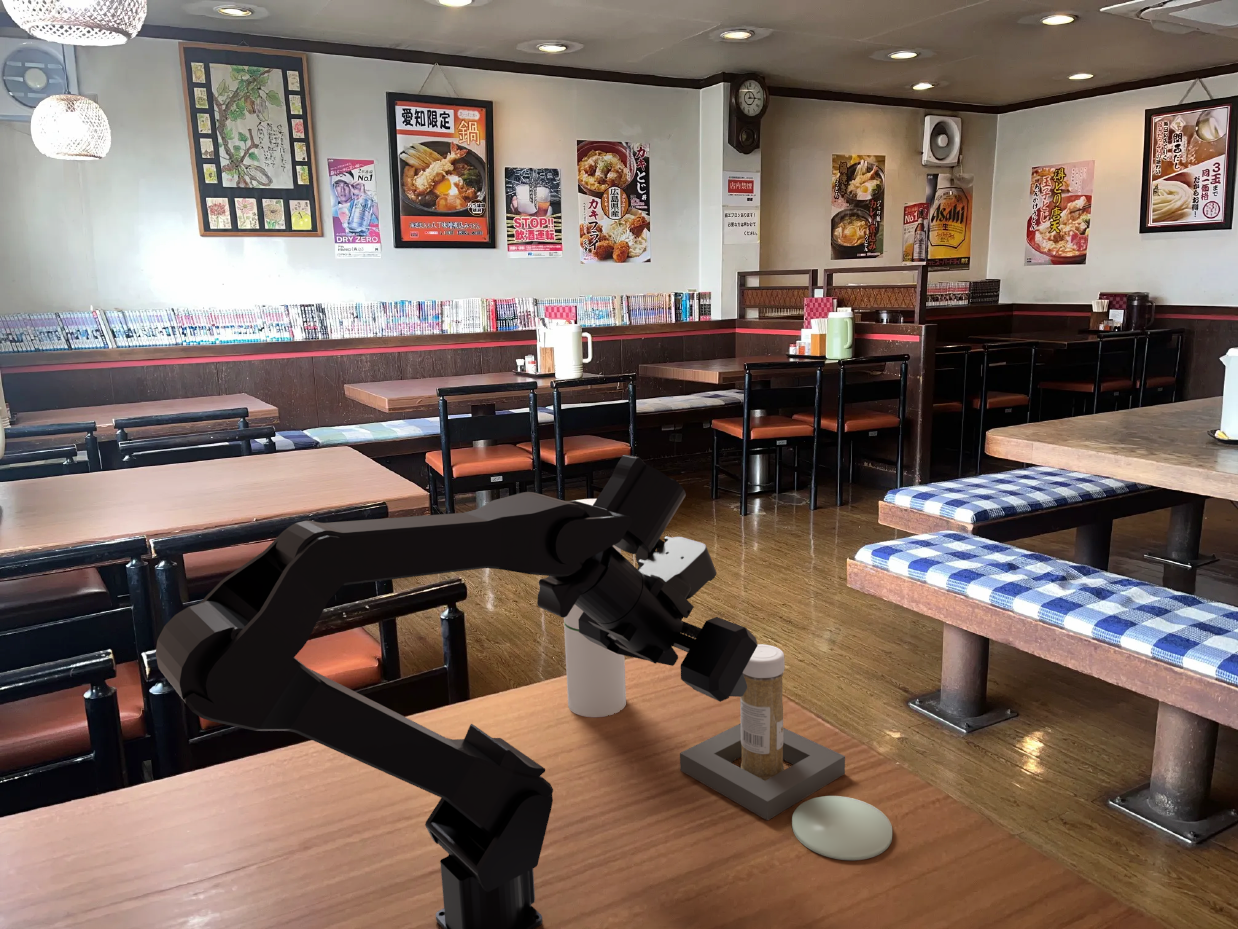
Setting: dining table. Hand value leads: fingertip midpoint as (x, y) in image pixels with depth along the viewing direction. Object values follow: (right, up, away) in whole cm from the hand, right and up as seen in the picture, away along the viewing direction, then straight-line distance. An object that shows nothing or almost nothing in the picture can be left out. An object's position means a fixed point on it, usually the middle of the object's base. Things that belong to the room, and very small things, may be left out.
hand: (708, 675), depth 84 cm
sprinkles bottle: (+6, -12, +7) cm, 16 cm away
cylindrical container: (-11, -9, +24) cm, 28 cm away
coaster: (+12, -14, -3) cm, 18 cm away
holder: (+6, -12, +7) cm, 15 cm away
